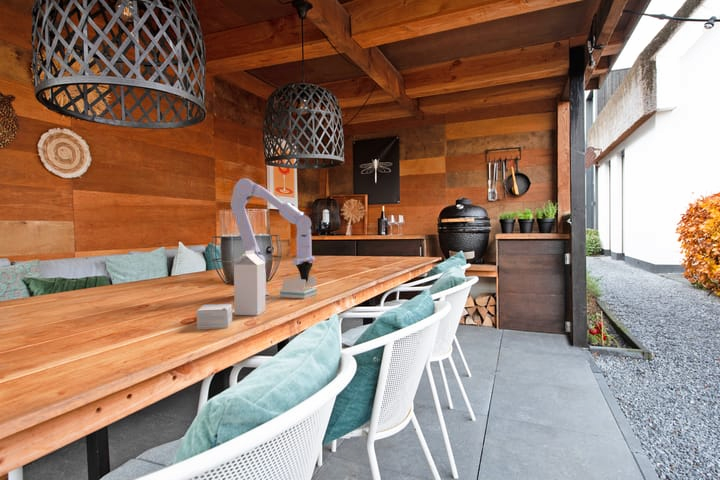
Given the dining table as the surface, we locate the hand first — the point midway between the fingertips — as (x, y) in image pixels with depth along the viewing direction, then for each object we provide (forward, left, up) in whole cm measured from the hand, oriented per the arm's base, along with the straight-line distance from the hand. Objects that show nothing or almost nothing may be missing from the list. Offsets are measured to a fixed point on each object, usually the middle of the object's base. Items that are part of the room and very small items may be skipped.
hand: (304, 281), depth 155 cm
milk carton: (-25, -26, -5) cm, 37 cm away
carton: (-3, -3, -5) cm, 7 cm away
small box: (-36, -37, -5) cm, 52 cm away
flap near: (-7, -6, -2) cm, 9 cm away
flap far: (0, 0, -2) cm, 2 cm away
